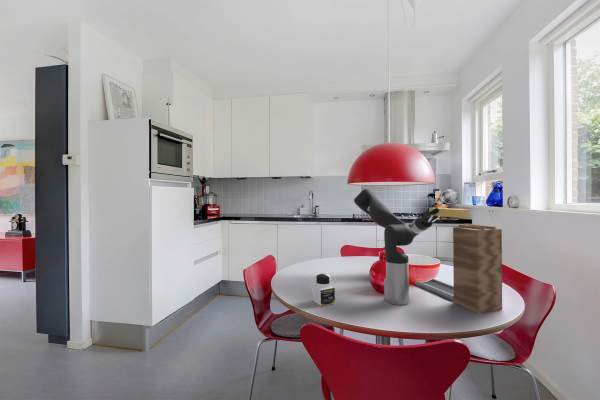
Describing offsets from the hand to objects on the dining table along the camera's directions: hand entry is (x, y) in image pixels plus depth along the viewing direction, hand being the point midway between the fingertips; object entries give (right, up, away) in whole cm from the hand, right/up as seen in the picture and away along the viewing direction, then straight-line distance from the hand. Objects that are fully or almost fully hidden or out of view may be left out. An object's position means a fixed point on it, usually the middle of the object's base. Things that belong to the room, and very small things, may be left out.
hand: (441, 209), depth 136 cm
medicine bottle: (-57, -40, -13) cm, 71 cm away
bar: (+1, -3, -3) cm, 5 cm away
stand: (+5, -39, -19) cm, 44 cm away
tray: (0, -39, 0) cm, 39 cm away
